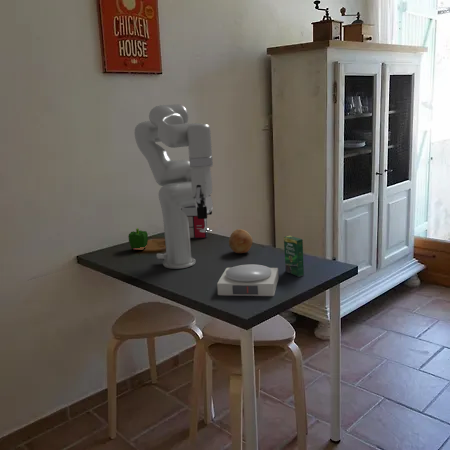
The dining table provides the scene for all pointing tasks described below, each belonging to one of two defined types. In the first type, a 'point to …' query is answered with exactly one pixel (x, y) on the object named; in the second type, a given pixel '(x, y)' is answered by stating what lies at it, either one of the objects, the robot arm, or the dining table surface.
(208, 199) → the wineglass
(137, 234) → the bell pepper
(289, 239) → the coffee box
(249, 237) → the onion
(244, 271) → the kitchen scale
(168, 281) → the dining table surface
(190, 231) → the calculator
